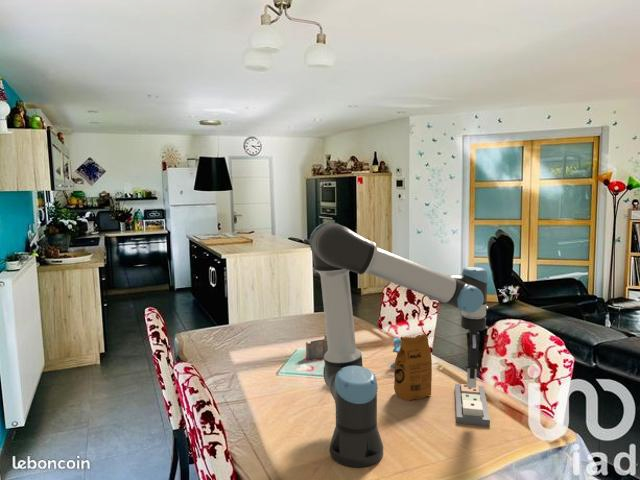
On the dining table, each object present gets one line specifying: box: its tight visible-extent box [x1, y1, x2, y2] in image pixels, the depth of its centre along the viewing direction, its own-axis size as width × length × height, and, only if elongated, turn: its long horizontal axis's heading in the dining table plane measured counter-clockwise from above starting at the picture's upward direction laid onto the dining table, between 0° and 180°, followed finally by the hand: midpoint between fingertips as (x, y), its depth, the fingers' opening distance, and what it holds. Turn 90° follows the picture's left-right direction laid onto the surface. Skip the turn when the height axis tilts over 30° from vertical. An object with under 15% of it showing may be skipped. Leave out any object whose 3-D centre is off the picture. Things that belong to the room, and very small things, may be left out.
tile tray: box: [454, 383, 491, 427], centre depth 164 cm, size 26×10×2 cm, turn 166°
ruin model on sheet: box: [305, 334, 328, 361], centre depth 214 cm, size 11×3×10 cm, turn 115°
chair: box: [390, 337, 402, 369], centre depth 202 cm, size 8×8×12 cm
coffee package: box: [393, 332, 433, 402], centre depth 173 cm, size 10×12×22 cm
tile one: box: [461, 400, 483, 417], centre depth 156 cm, size 6×6×3 cm
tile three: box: [460, 383, 479, 395], centre depth 172 cm, size 6×6×3 cm
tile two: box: [461, 393, 481, 404], centre depth 164 cm, size 6×6×3 cm
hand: (471, 386), depth 156 cm, fingers closed
